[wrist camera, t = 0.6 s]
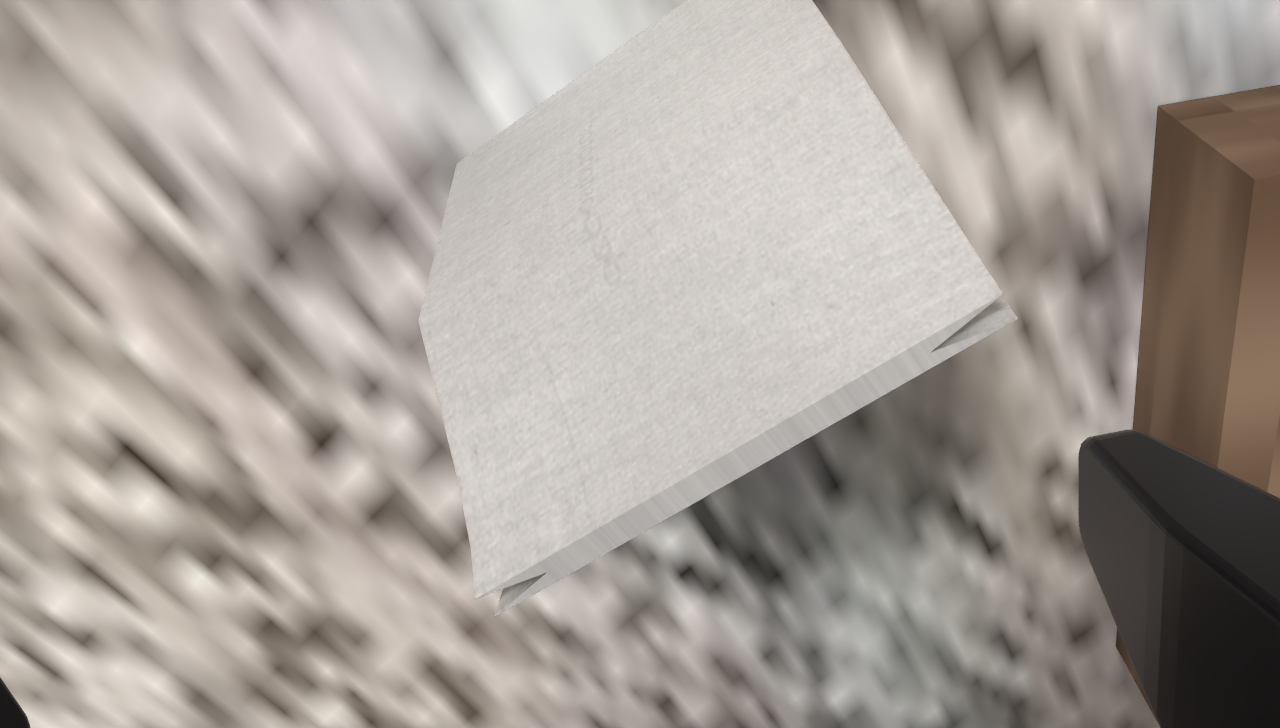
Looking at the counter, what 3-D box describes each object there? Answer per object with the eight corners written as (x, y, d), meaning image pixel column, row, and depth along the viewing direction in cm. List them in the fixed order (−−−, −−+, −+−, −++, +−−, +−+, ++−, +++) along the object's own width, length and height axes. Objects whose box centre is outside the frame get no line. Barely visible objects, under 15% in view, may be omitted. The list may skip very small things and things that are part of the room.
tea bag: (456, 162, 21) (373, 505, 12) (770, -61, 19) (923, 161, 11) (576, 305, 23) (575, 692, 14) (875, 112, 21) (1080, 423, 12)
